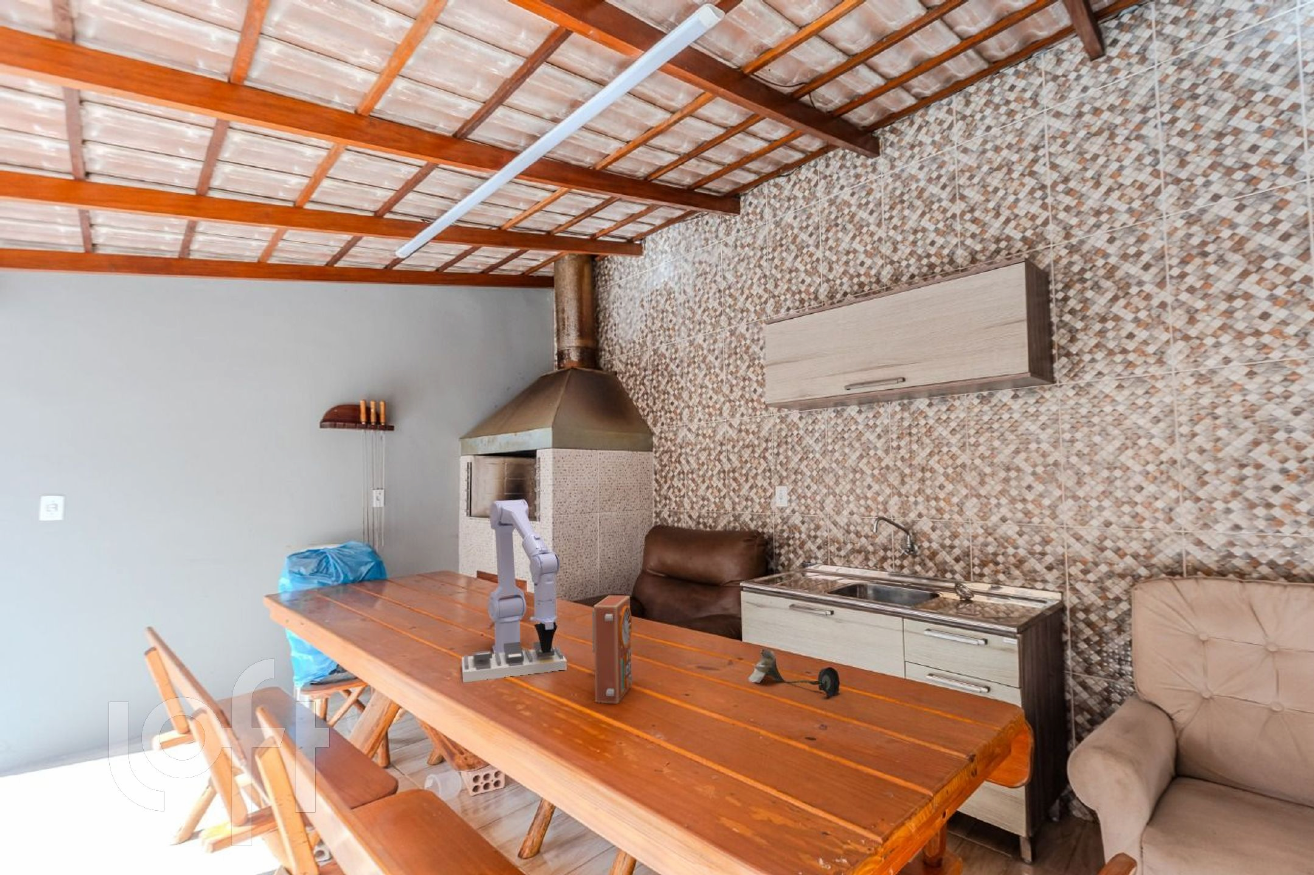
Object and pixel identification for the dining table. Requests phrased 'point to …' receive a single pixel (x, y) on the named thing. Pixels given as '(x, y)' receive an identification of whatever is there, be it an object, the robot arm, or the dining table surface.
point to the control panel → (612, 648)
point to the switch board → (511, 665)
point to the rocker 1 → (482, 655)
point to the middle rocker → (513, 652)
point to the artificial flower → (825, 678)
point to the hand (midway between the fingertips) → (546, 651)
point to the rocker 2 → (539, 652)
